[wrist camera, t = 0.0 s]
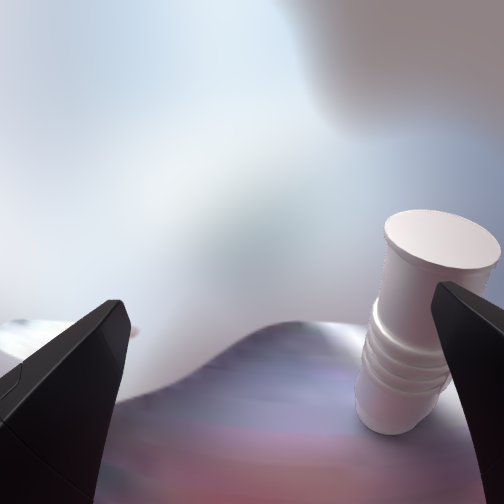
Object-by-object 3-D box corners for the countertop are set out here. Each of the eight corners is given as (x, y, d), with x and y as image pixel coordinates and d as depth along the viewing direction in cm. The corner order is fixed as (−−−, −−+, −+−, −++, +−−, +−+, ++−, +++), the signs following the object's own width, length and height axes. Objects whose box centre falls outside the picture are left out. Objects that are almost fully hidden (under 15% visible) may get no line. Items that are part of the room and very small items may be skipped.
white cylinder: (392, 457, 18) (475, 289, 10) (332, 402, 23) (356, 228, 16) (444, 403, 21) (516, 240, 13) (388, 361, 26) (423, 201, 19)
